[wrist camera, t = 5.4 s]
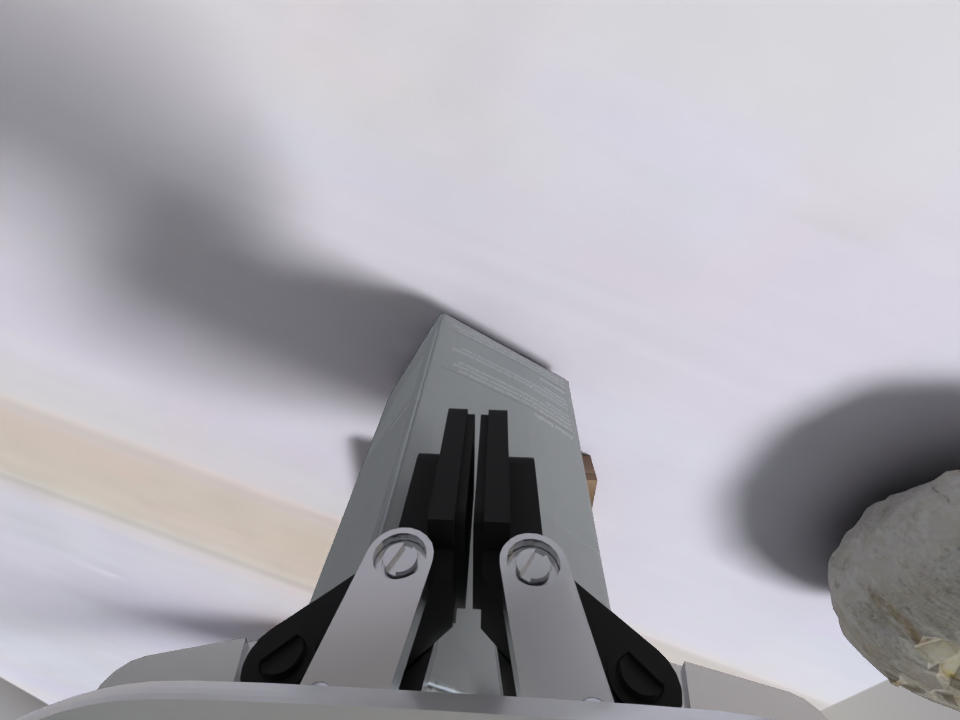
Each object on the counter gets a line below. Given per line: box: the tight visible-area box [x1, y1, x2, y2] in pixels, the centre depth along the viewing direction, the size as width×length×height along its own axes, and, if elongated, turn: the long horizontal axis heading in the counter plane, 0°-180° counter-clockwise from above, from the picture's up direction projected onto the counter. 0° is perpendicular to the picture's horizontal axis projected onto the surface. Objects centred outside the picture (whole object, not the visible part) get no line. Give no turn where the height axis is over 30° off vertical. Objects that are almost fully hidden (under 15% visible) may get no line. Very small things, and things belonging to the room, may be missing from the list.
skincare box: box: [310, 313, 611, 696], centre depth 17 cm, size 8×7×16 cm
